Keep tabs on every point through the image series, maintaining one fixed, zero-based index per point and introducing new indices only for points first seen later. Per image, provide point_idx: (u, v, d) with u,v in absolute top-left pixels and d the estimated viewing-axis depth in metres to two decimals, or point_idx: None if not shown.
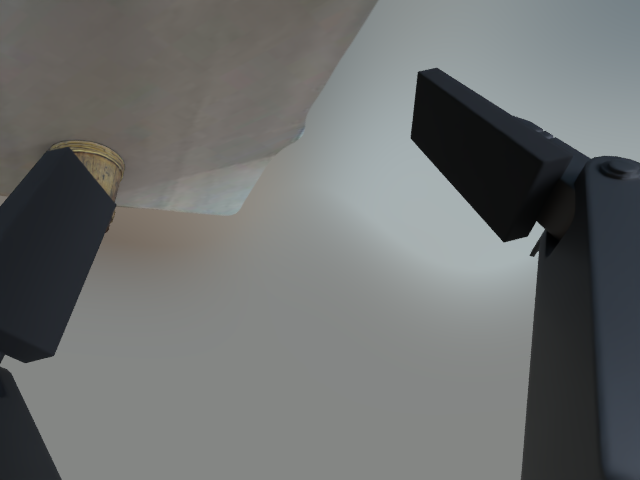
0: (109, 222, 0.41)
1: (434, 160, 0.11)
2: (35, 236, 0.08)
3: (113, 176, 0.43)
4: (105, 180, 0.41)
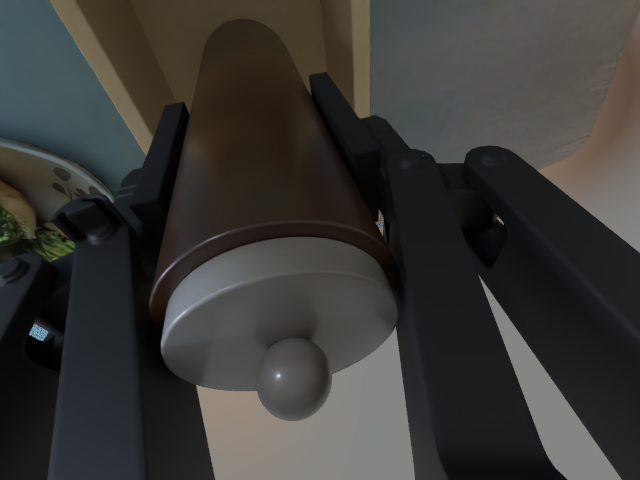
0: None
1: None
2: None
3: None
4: None
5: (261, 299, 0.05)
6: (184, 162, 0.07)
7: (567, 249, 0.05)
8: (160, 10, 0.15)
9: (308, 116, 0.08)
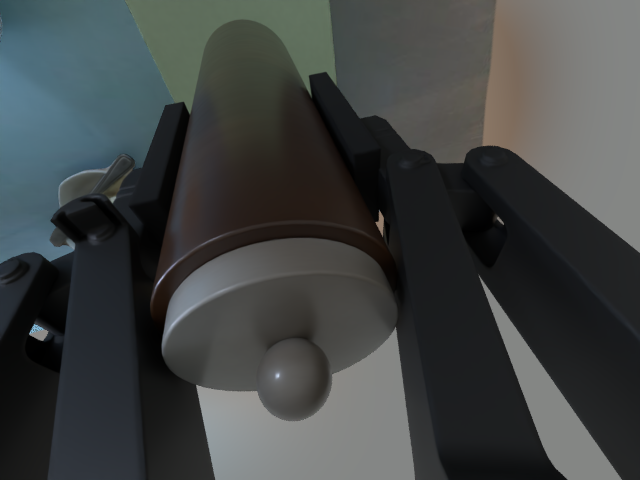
0: None
1: None
2: None
3: None
4: None
5: (261, 300, 0.05)
6: (184, 163, 0.07)
7: (567, 249, 0.05)
8: None
9: (308, 117, 0.08)
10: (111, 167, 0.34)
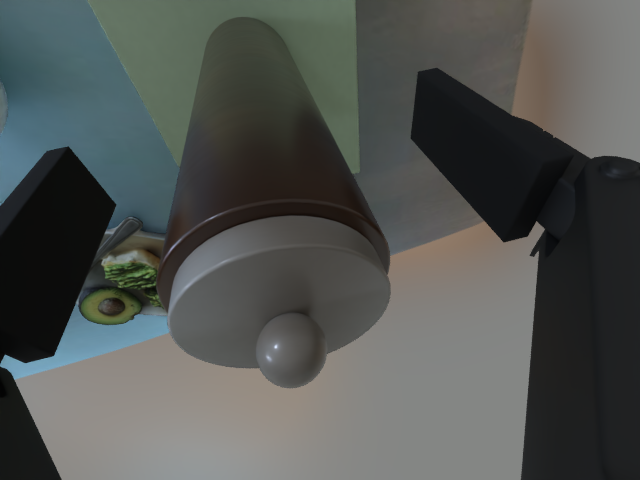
0: None
1: (434, 160, 0.11)
2: (35, 236, 0.08)
3: None
4: None
5: (261, 272, 0.05)
6: (188, 151, 0.08)
7: None
8: None
9: (306, 108, 0.09)
10: (118, 229, 0.33)
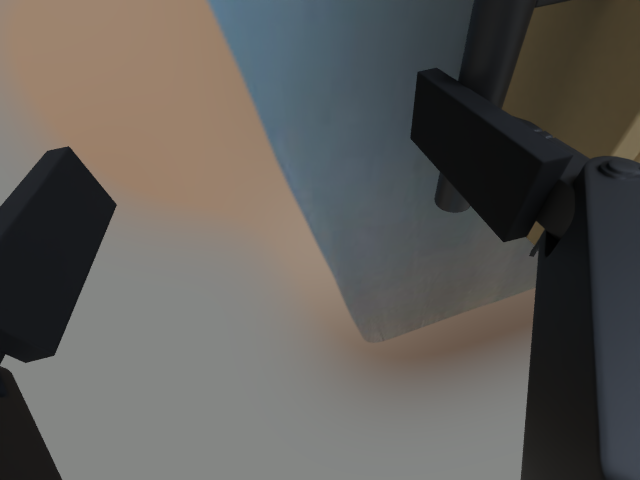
0: None
1: (434, 159, 0.11)
2: (35, 236, 0.08)
3: None
4: None
5: None
6: None
7: None
8: None
9: None
10: None
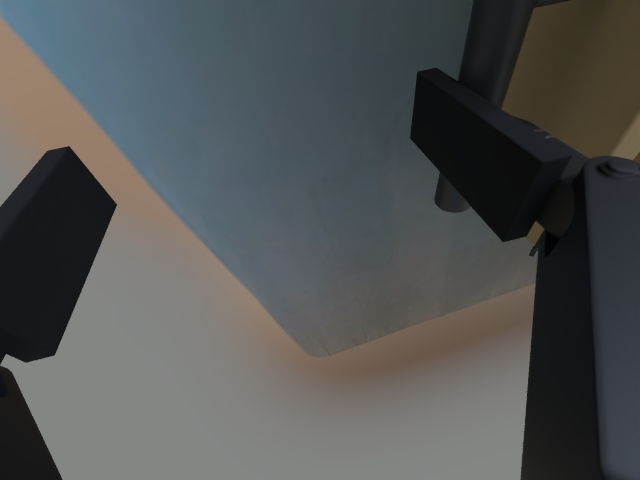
0: None
1: (434, 159, 0.11)
2: (36, 236, 0.08)
3: None
4: None
5: None
6: None
7: None
8: None
9: None
10: None
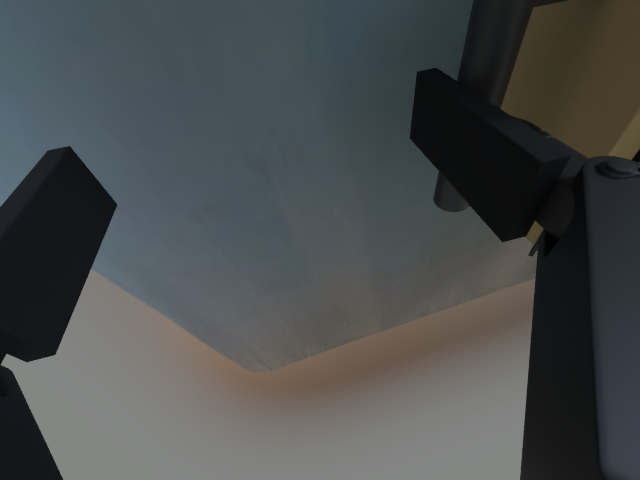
0: None
1: (434, 160, 0.11)
2: (36, 235, 0.08)
3: None
4: None
5: None
6: None
7: None
8: None
9: None
10: None
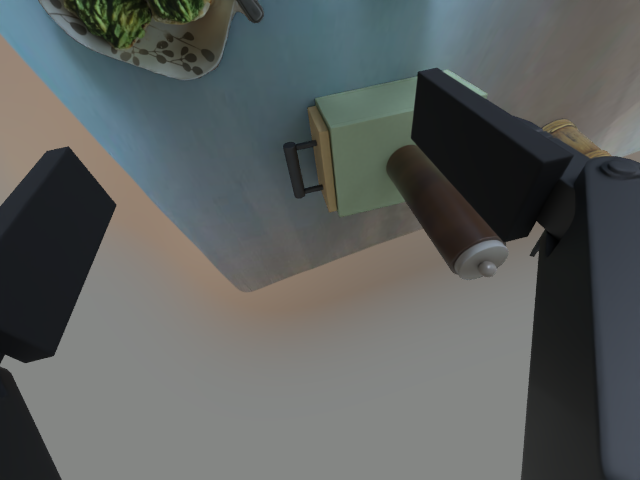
0: None
1: (435, 160, 0.11)
2: (35, 236, 0.08)
3: (584, 136, 0.49)
4: (587, 139, 0.48)
5: (502, 258, 0.27)
6: None
7: None
8: None
9: None
10: None
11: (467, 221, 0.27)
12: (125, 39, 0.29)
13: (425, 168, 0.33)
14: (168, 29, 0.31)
